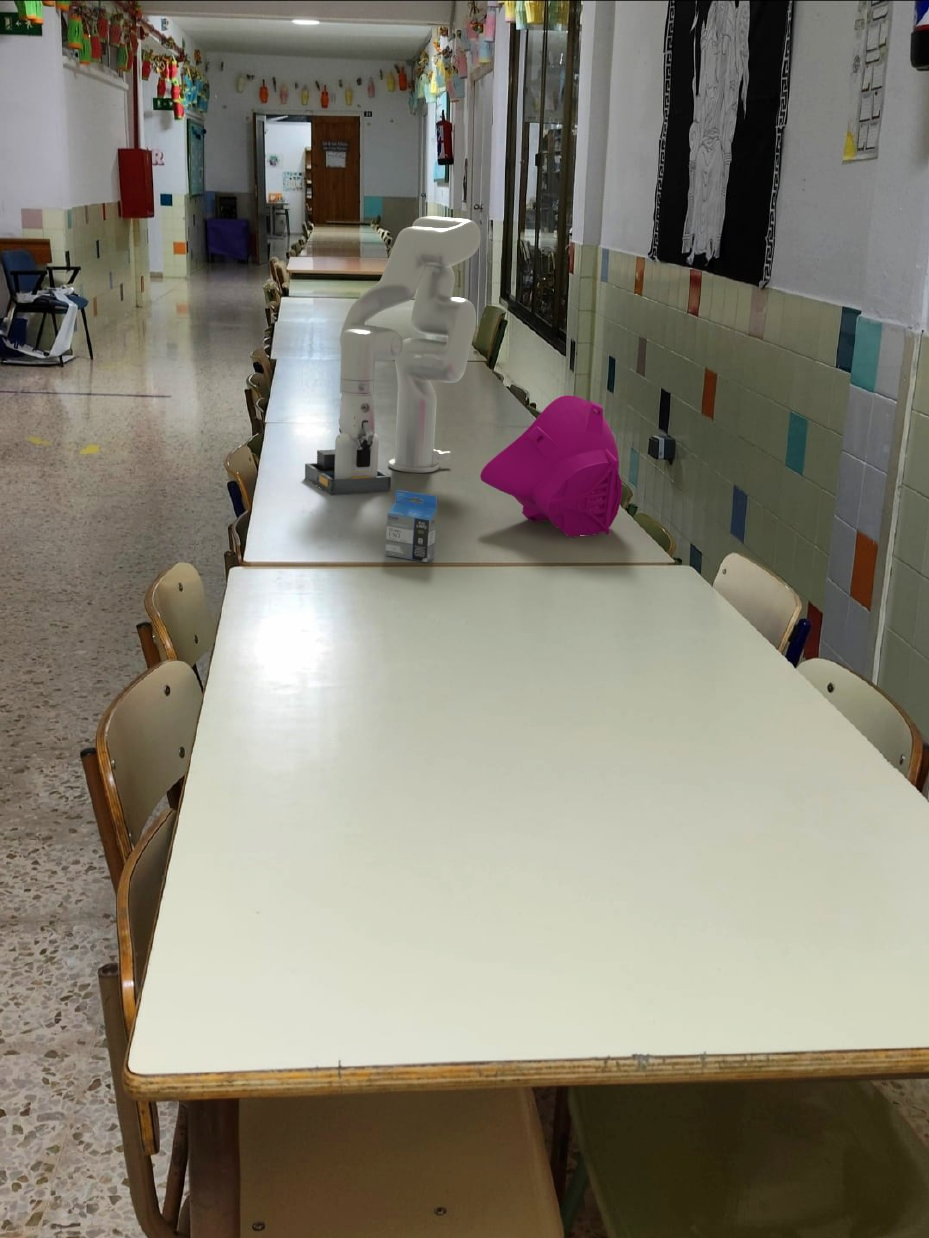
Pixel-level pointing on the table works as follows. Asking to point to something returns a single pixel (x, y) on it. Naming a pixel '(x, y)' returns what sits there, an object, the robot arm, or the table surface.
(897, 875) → the table surface
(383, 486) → the tray
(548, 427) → the face mask
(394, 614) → the table surface
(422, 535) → the label tape box
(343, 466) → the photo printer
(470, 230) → the robot arm
